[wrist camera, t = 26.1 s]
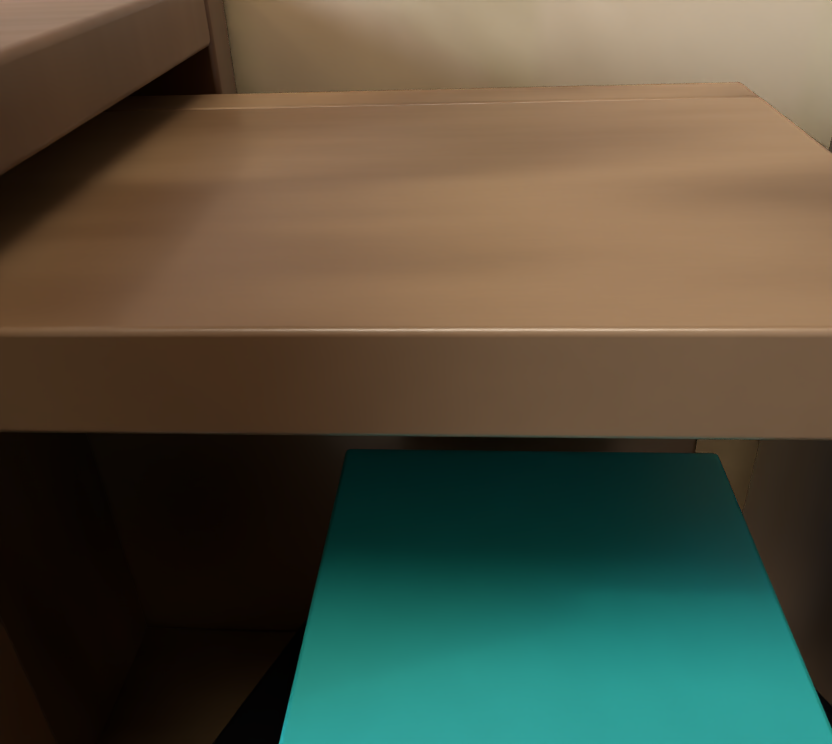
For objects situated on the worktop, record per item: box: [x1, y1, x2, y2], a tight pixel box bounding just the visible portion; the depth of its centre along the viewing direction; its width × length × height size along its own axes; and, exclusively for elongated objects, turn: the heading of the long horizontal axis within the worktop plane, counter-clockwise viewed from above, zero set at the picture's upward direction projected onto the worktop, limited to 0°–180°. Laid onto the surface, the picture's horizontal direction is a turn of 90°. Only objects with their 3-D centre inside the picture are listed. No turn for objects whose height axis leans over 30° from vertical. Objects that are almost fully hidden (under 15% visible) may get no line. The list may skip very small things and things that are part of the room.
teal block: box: [279, 449, 832, 744], centre depth 8 cm, size 4×4×4 cm
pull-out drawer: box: [0, 82, 832, 744], centre depth 10 cm, size 17×11×7 cm, turn 92°
